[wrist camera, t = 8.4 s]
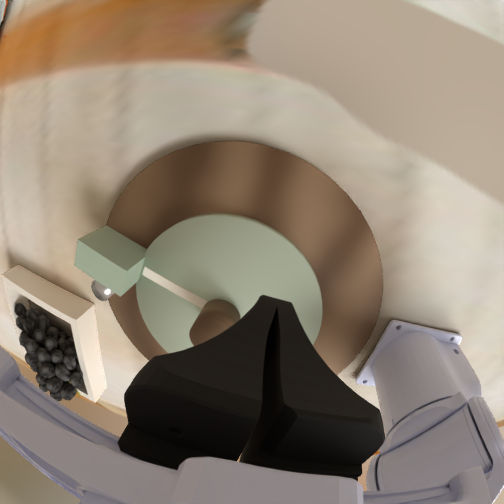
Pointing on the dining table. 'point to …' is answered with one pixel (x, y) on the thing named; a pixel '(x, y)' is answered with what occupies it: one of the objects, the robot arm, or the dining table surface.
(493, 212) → the dining table surface
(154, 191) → the base board
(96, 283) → the dowel
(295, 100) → the dining table surface
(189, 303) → the flange plate
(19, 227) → the dining table surface
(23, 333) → the fruit
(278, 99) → the dining table surface
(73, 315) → the fruit frame
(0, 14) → the food on plate
